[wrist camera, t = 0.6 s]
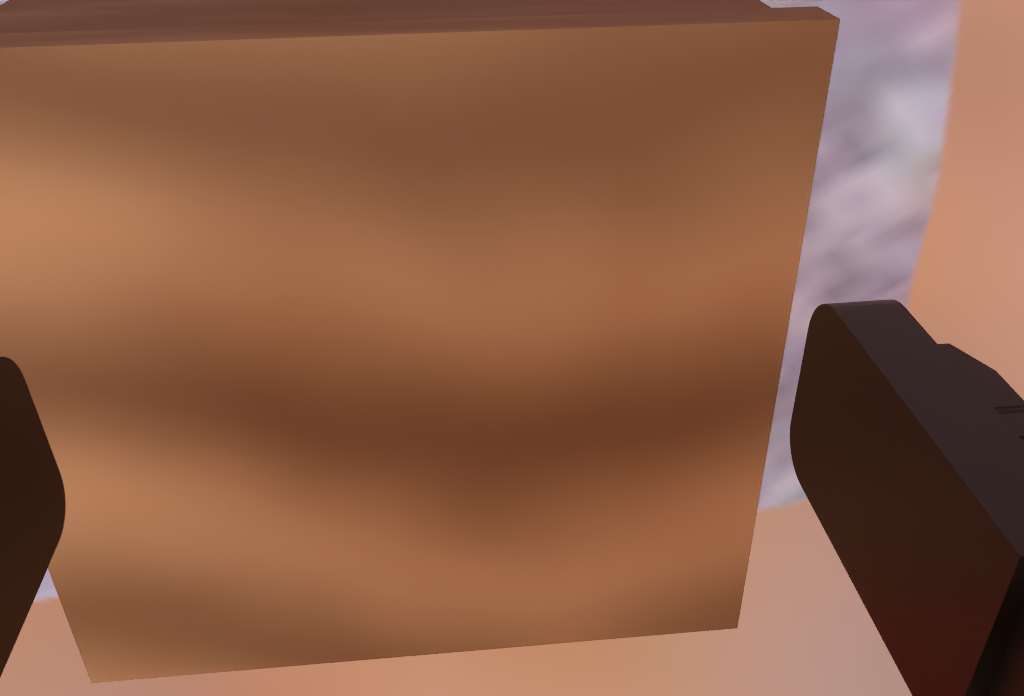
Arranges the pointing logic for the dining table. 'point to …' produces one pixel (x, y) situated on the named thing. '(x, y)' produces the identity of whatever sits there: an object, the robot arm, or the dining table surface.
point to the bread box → (401, 314)
